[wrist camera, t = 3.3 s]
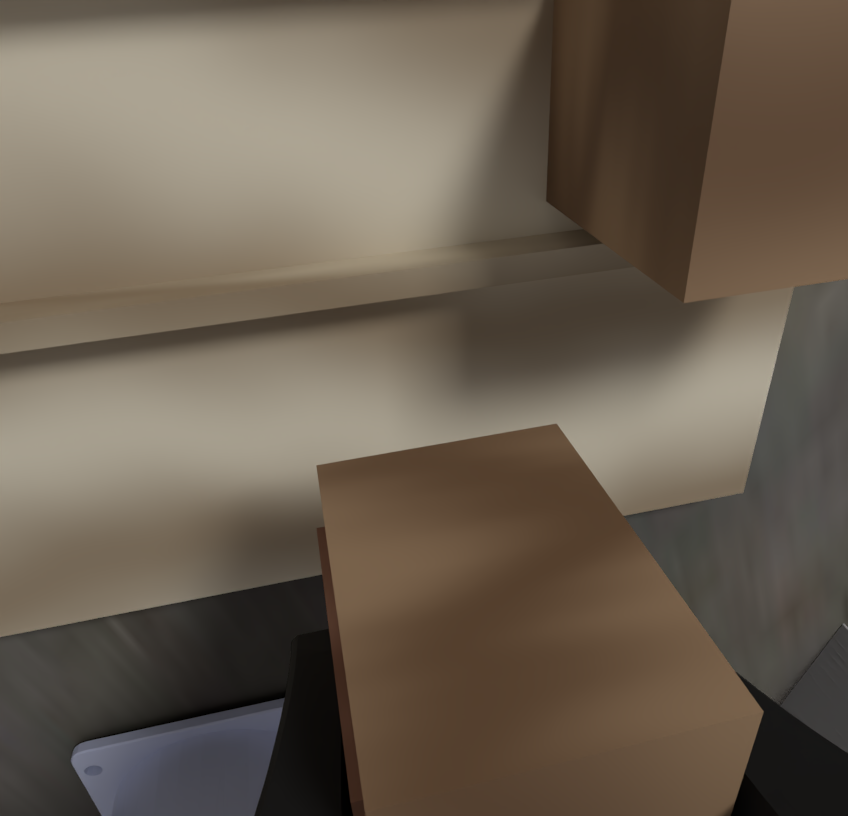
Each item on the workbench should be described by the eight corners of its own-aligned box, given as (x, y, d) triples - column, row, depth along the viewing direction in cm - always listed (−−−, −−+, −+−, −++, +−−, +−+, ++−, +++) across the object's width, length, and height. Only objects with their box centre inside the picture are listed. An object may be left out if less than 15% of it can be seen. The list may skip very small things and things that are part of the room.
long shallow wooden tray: (720, 468, 21) (768, 518, 19) (-305, 660, 17) (-379, 750, 15) (857, -164, 13) (966, -190, 11) (-1022, -87, 9) (-1382, -106, 7)
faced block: (802, 170, 15) (1039, 250, 11) (546, 201, 14) (683, 303, 10) (855, -55, 13) (1180, -74, 8) (554, -34, 12) (738, -44, 8)
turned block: (557, 423, 11) (764, 712, 7) (545, 661, 15) (681, 969, 10) (307, 466, 11) (349, 816, 6) (351, 705, 14) (401, 1055, 9)
